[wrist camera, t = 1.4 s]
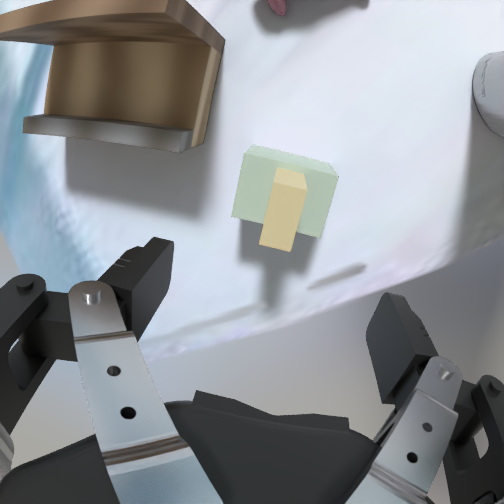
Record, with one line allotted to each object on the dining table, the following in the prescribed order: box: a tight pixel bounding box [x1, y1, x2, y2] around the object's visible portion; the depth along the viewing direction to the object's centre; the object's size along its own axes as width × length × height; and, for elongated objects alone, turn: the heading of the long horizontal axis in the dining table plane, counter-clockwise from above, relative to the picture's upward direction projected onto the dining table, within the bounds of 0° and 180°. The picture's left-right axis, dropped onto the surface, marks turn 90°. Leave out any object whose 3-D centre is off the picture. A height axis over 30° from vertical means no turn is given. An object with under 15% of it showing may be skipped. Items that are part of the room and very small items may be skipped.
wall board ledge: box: [0, 0, 225, 153], centre depth 20 cm, size 16×10×14 cm, turn 78°
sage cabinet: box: [231, 145, 339, 252], centre depth 24 cm, size 7×5×11 cm
